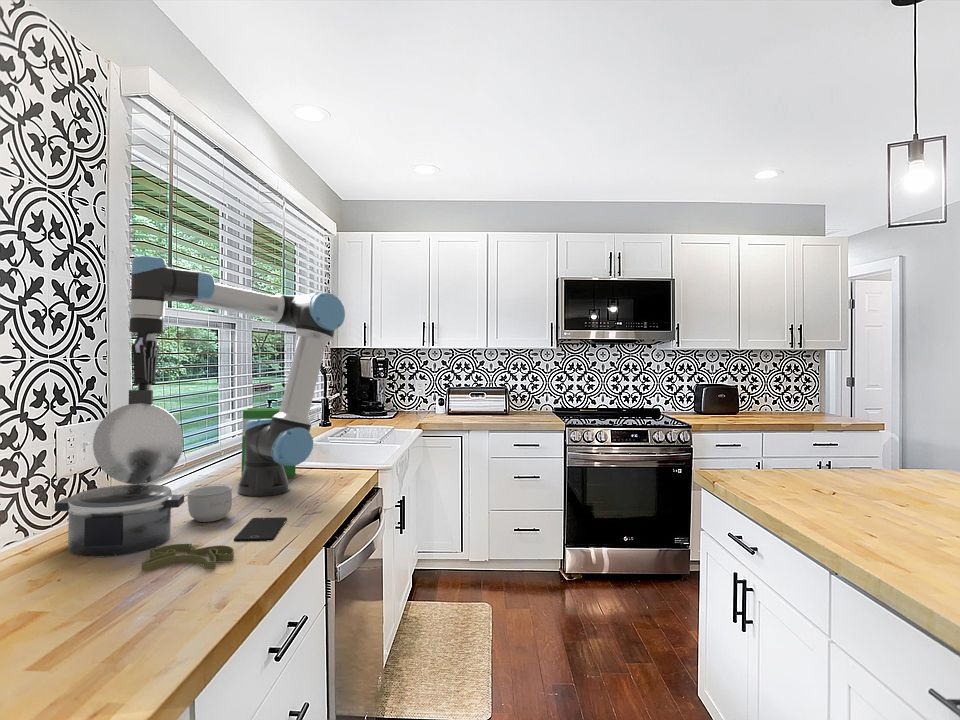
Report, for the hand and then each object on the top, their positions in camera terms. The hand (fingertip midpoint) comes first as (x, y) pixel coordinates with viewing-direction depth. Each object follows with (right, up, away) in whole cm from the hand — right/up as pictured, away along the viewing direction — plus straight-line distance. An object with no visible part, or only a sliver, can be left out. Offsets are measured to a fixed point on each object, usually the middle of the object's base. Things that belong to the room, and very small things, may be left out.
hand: (143, 410), depth 147 cm
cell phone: (+31, -30, -2) cm, 43 cm away
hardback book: (+10, -29, +60) cm, 67 cm away
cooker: (+3, -29, -14) cm, 32 cm away
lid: (+1, -6, -4) cm, 8 cm away
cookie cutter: (+24, -30, -24) cm, 46 cm away
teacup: (+14, -30, +7) cm, 34 cm away
